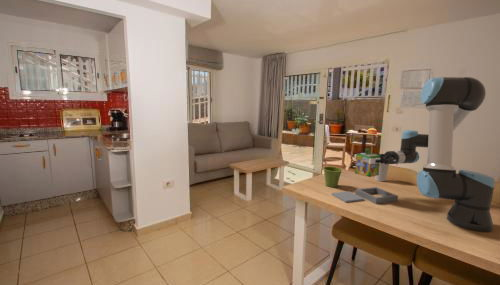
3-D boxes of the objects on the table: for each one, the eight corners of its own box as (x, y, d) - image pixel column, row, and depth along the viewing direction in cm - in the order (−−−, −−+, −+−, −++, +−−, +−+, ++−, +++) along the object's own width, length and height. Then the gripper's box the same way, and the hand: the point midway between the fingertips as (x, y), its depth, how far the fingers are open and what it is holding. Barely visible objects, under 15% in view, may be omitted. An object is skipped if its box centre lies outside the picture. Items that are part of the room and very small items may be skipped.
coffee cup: (390, 182, 164) (392, 161, 162) (375, 181, 165) (377, 160, 163) (384, 178, 173) (387, 158, 171) (370, 177, 175) (372, 157, 172)
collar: (397, 201, 131) (398, 195, 130) (375, 203, 126) (376, 198, 126) (375, 191, 145) (376, 187, 145) (355, 193, 141) (355, 189, 140)
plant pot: (318, 185, 155) (319, 168, 154) (327, 181, 163) (329, 165, 161) (335, 190, 147) (336, 172, 145) (344, 186, 154) (346, 169, 153)
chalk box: (369, 177, 129) (372, 150, 127) (354, 173, 137) (356, 147, 134) (379, 175, 134) (382, 149, 131) (364, 171, 141) (366, 146, 139)
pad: (364, 200, 131) (364, 198, 131) (345, 202, 127) (345, 200, 127) (348, 192, 142) (349, 191, 142) (331, 194, 139) (331, 192, 138)
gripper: (411, 168, 128) (377, 171, 122) (377, 159, 150) (347, 160, 144) (413, 155, 127) (379, 156, 121) (378, 147, 149) (348, 148, 143)
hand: (362, 158), depth 133 cm, fingers closed on chalk box, 11 cm apart
